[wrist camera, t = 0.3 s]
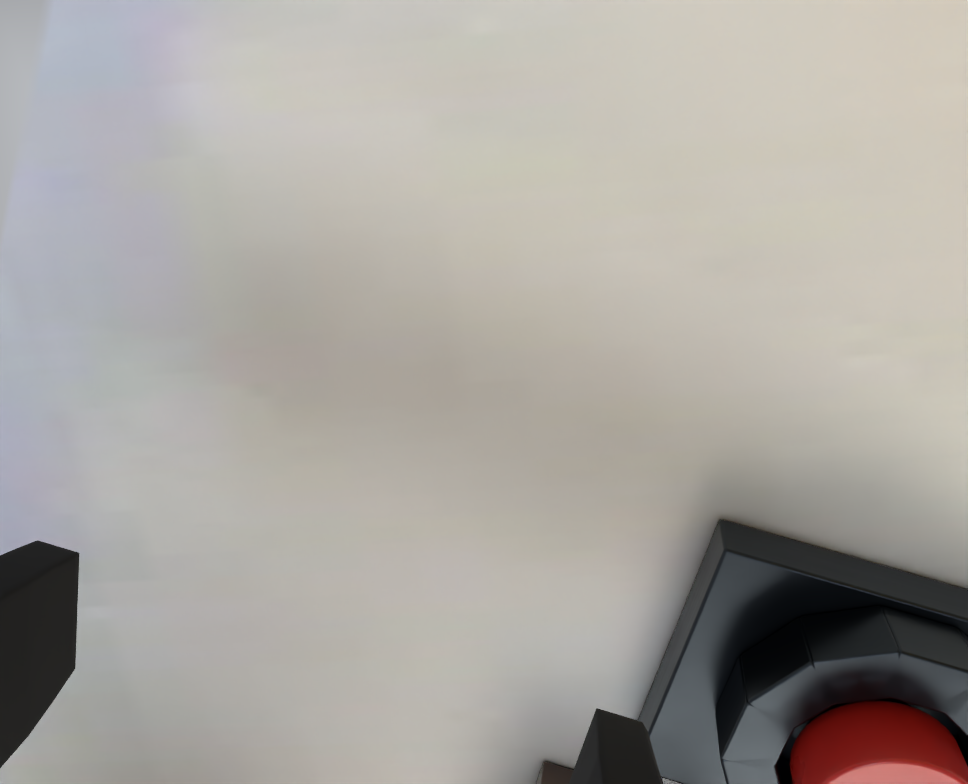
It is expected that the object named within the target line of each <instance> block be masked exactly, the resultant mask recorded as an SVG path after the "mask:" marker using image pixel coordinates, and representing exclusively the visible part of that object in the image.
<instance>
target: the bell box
mask: <svg viewBox="0 0 968 784" xmlns="http://www.w3.org/2000/svg"><path fill="white" fill-rule="evenodd" d="M872 700H876V701H890V702H897V703H901V704H905V705H909V706H911V707H914V708H917V709H919V710H921V711H923V712H925V713H927V714H929V715H931V716H932V717H934V718H935V719H937V720H938V721H939V722H940V723H941V724H943V725H944V726H945V727H946V728H947V729H948V730H949V731H950V733H951V734H952V735H953V737H954V738H955V740H956V741H957V743H958V746H959V748H960V750H961V752H962V755H963V757H964V759H965V761H966V764H967V766H968V590H967V589H963V588H960V587H956V586H953V585H949V584H946V583H942V582H939V581H935V580H932V579H928V578H925V577H921V576H918V575H914V574H911V573H907V572H904V571H900V570H897V569H893V568H890V567H886V566H883V565H879V564H876V563H872V562H869V561H865V560H862V559H858V558H855V557H852V556H848V555H845V554H841V553H838V552H834V551H831V550H827V549H824V548H820V547H817V546H813V545H810V544H806V543H803V542H799V541H796V540H792V539H789V538H785V537H782V536H778V535H775V534H771V533H768V532H764V531H761V530H757V529H754V528H750V527H747V526H743V525H740V524H736V523H733V522H729V521H726V520H720V521H719V522H718V524H717V527H716V529H715V532H714V534H713V537H712V539H711V542H710V544H709V547H708V549H707V551H706V554H705V556H704V559H703V561H702V564H701V566H700V569H699V571H698V574H697V576H696V579H695V581H694V584H693V586H692V588H691V591H690V593H689V596H688V598H687V601H686V603H685V606H684V608H683V611H682V613H681V616H680V618H679V621H678V623H677V625H676V628H675V630H674V633H673V635H672V638H671V640H670V643H669V645H668V648H667V650H666V653H665V655H664V657H663V660H662V662H661V665H660V667H659V670H658V672H657V675H656V677H655V680H654V682H653V685H652V687H651V690H650V692H649V694H648V697H647V699H646V702H645V704H644V707H643V709H642V712H641V714H640V717H639V719H638V721H640V722H643V724H644V726H645V727H646V729H647V731H648V734H649V738H650V741H651V745H652V748H653V752H654V755H655V759H656V762H657V765H658V769H659V772H660V775H661V777H662V778H666V779H669V780H672V781H675V782H679V783H682V784H793V782H792V777H791V772H790V755H791V750H792V747H793V745H794V742H795V740H796V738H797V737H798V735H799V734H800V732H801V731H802V730H803V729H804V727H805V726H806V725H807V724H809V723H810V722H811V721H812V720H813V719H815V718H816V717H818V716H819V715H821V714H822V713H824V712H826V711H828V710H830V709H833V708H835V707H838V706H841V705H845V704H848V703H853V702H860V701H872Z"/></svg>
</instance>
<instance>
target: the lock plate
mask: <svg viewBox="0 0 968 784" xmlns="http://www.w3.org/2000/svg"><path fill="white" fill-rule="evenodd" d="M573 771H574V770H571V769H568V768H565V767H561V766H558V765H555V764H552V763H548V762H544V763H543V765H542V768H541V770H540V773H539V776H538V779H537V782H536V784H569V782H570V779H571V776H572V773H573Z"/></svg>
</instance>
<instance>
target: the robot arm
mask: <svg viewBox="0 0 968 784" xmlns="http://www.w3.org/2000/svg"><path fill="white" fill-rule="evenodd" d="M78 572H79V553H77V552H74V551H71V550H67V549H64V548H61V547H57V546H54V545H51V544H47V543H44V542H41V541H35V542H32V543H30V544H27V545H25V546H22V547H20V548H17V549H15V550H12V551H10V552H7V553H5V554H3V555H0V768H1V767H2V765H3V764H4V763H5V762H6V761H7V760H8V759H9V757H10V756H11V755H12V754H13V753H14V752H15V751H16V749H17V748H18V747H19V746H20V745H21V744H22V742H23V741H24V740H25V739H26V738H27V737H28V735H29V734H30V733H31V731H32V730H33V729H34V727H35V726H36V724H37V723H38V722H39V720H40V719H41V717H42V716H43V715H44V713H45V712H46V710H47V709H48V708H49V706H50V705H51V703H52V702H53V700H54V699H55V697H56V696H57V695H58V693H59V692H60V690H61V689H62V687H63V686H64V684H65V683H66V681H67V680H68V678H69V677H70V675H71V674H72V672H73V671H74V669H75V658H76V629H77V601H78ZM569 784H663V781H662V778H661V775H660V772H659V769H658V765H657V762H656V759H655V755H654V752H653V748H652V745H651V741H650V738H649V734H648V731H647V729H646V727H645V726H644V724H643V722H640V721H637V720H634V719H630V718H627V717H624V716H620V715H617V714H614V713H610V712H607V711H604V710H600V709H596V711H595V714H594V717H593V719H592V722H591V725H590V727H589V730H588V733H587V736H586V738H585V741H584V744H583V746H582V749H581V752H580V755H579V757H578V760H577V763H576V765H575V768H574V771H573V773H572V776H571V779H570V782H569Z"/></svg>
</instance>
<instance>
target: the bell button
mask: <svg viewBox="0 0 968 784" xmlns="http://www.w3.org/2000/svg"><path fill="white" fill-rule="evenodd" d="M790 772H791V777H792V782H793V784H968V766H967V764H966V761H965V759H964V757H963V755H962V752H961V750H960V748H959V746H958V743H957V741H956V740H955V738H954V737H953V735H952V734H951V733H950V731H949V730H948V729H947V728H946V727H945V726H944V725H943V724H941V723H940V722H939V721H938V720H937V719H935V718H934V717H932V716H931V715H929V714H927V713H925V712H923V711H921V710H919V709H917V708H914V707H911V706H909V705H905V704H901V703H897V702H890V701H876V700H872V701H860V702H853V703H848V704H845V705H841V706H838V707H835V708H833V709H830V710H828V711H826V712H824V713H822V714H821V715H819V716H818V717H816V718H815V719H813V720H812V721H811V722H810V723H809V724H807V725H806V726H805V727H804V729H803V730H802V731H801V732H800V734H799V735H798V737H797V738H796V740H795V742H794V745H793V747H792V750H791V755H790Z"/></svg>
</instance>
